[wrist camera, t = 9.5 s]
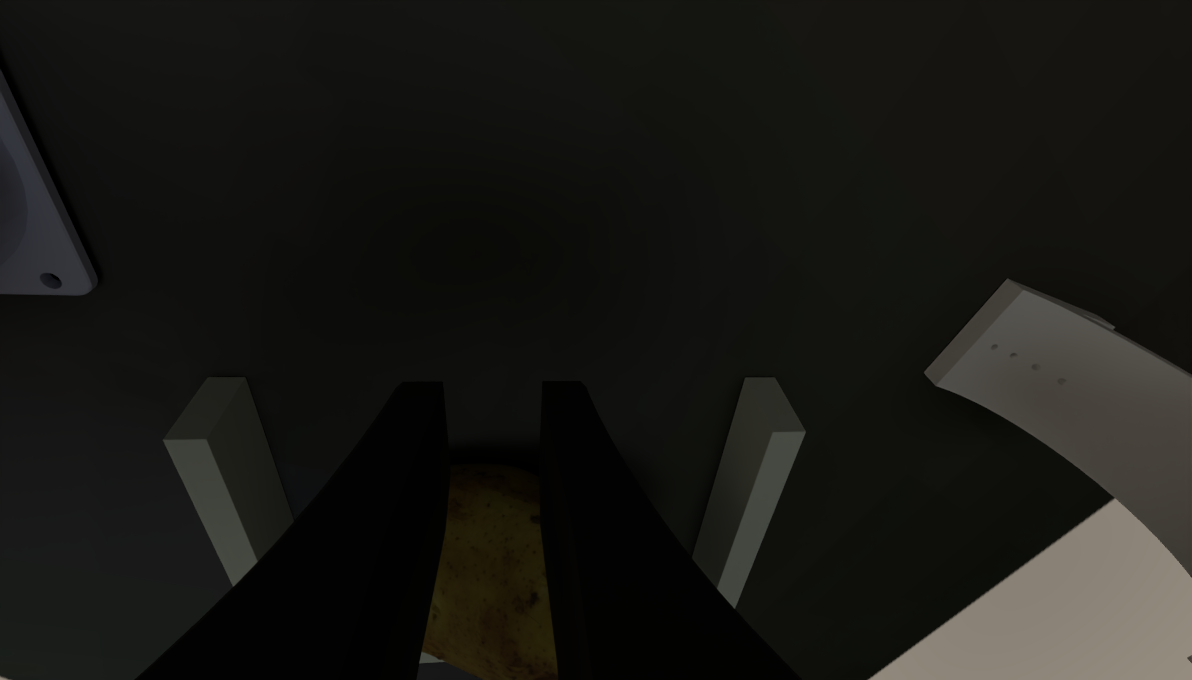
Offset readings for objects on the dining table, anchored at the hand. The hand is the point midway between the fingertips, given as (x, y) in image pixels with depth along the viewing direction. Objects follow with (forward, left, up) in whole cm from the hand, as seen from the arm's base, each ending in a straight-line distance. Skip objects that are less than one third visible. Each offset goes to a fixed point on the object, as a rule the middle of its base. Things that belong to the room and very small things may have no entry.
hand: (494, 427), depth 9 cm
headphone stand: (+20, -5, -10) cm, 23 cm away
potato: (0, -13, -10) cm, 16 cm away
